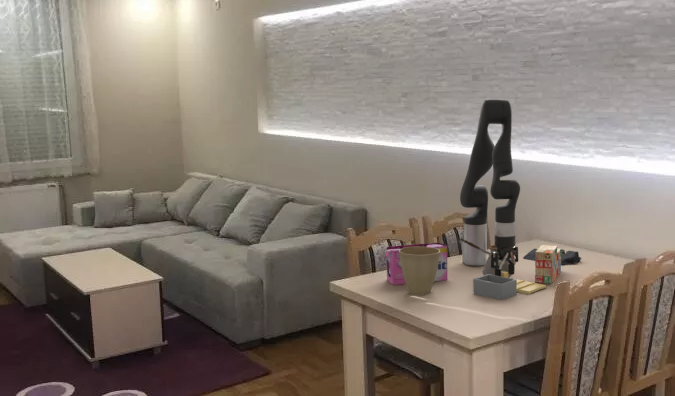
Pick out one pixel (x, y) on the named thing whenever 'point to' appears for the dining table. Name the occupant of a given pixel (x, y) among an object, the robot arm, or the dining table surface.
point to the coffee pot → (489, 260)
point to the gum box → (395, 267)
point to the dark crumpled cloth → (566, 257)
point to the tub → (494, 286)
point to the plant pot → (419, 268)
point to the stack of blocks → (547, 263)
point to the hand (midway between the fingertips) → (504, 276)
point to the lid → (525, 285)
